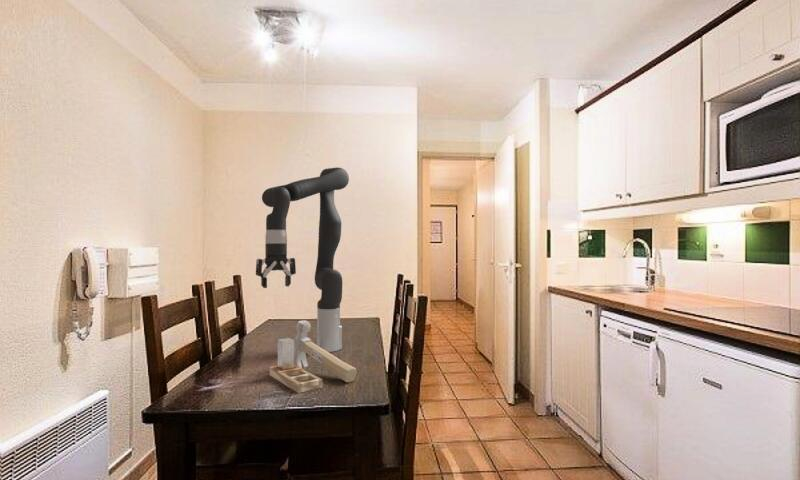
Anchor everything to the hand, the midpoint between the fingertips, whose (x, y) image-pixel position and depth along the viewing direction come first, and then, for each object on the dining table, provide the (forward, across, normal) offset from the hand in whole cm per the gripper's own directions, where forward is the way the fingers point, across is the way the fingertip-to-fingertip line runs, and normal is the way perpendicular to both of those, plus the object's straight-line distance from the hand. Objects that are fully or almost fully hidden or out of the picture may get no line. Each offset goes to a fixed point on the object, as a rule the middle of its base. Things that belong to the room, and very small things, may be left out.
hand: (276, 287), depth 164 cm
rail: (+28, +3, +23) cm, 36 cm away
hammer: (+28, -8, +21) cm, 36 cm away
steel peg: (+28, +3, +16) cm, 32 cm away
